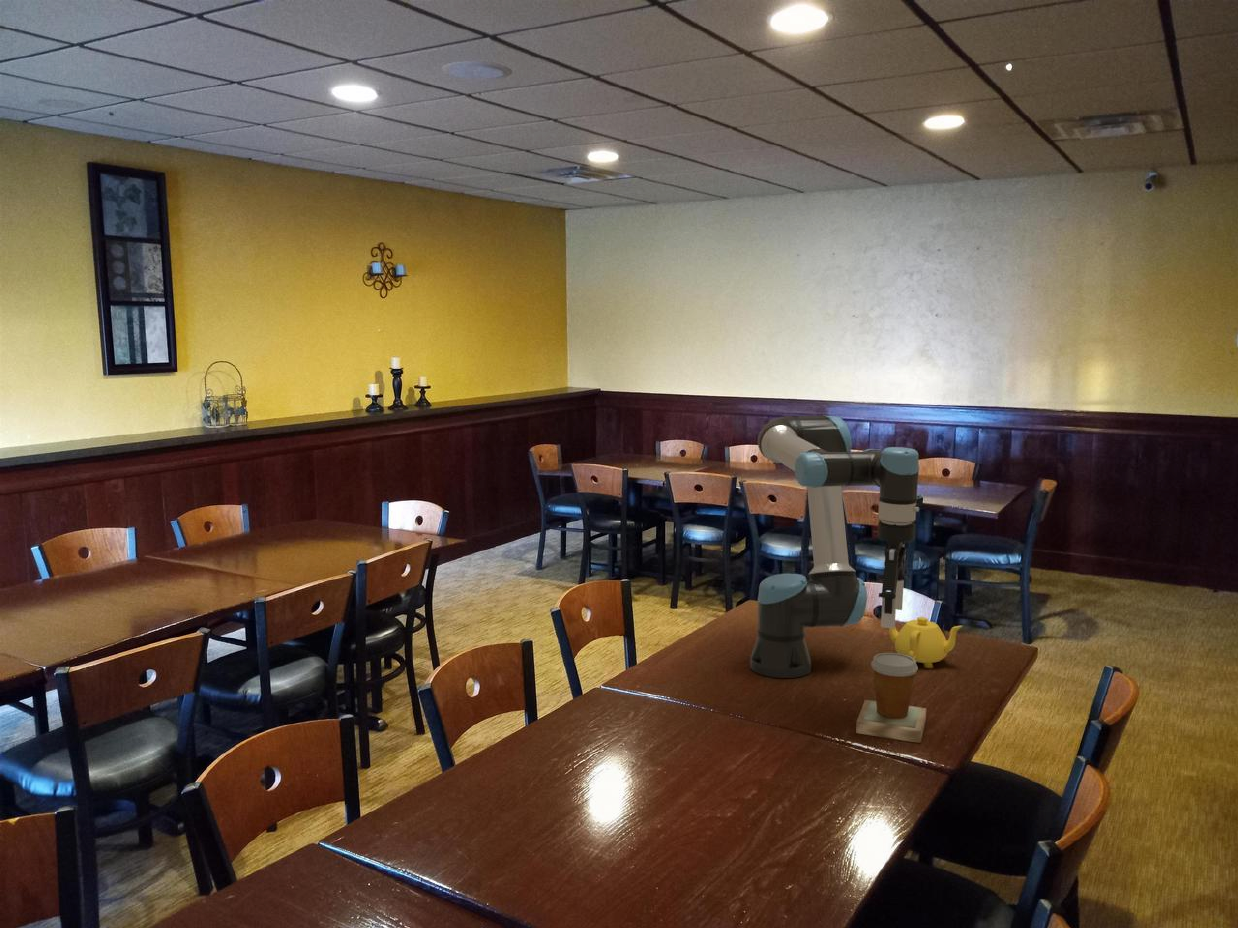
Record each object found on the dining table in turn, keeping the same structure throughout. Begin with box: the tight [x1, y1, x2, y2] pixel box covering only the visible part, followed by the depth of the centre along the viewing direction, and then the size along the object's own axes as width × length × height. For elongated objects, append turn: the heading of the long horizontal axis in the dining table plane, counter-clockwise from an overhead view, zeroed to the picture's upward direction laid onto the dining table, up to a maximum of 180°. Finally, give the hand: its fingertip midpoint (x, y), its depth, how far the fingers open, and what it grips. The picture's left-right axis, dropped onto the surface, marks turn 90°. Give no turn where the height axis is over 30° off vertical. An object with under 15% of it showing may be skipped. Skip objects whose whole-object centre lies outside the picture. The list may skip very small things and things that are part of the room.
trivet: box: [855, 699, 927, 744], centre depth 200 cm, size 13×13×3 cm
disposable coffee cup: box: [870, 652, 919, 719], centre depth 199 cm, size 10×10×12 cm
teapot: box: [888, 616, 963, 669], centre depth 239 cm, size 20×15×12 cm
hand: (891, 617), depth 201 cm, fingers open, 13 cm apart
